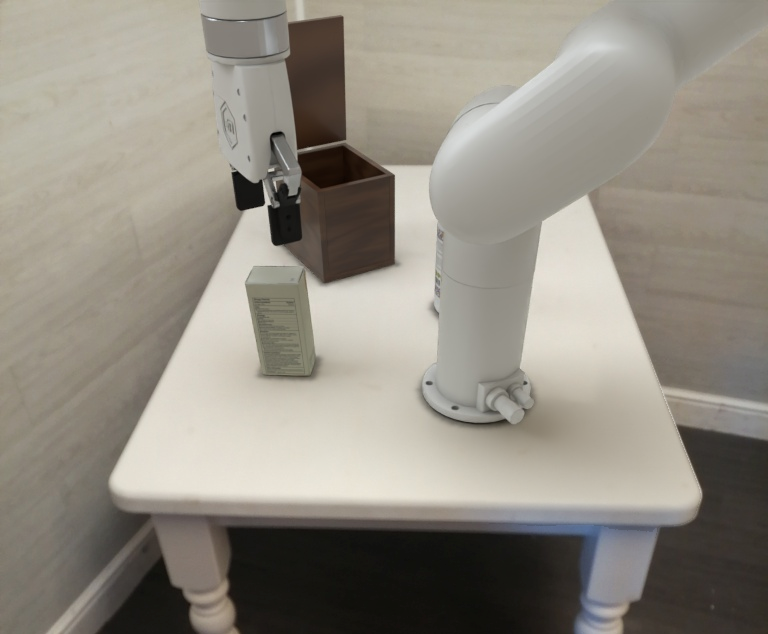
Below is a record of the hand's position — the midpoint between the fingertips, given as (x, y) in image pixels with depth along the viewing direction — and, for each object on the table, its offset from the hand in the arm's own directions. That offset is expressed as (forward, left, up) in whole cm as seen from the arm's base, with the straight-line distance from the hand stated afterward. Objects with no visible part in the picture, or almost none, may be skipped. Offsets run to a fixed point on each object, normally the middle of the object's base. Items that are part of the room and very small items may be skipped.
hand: (268, 224), depth 77 cm
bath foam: (+1, -26, -18) cm, 32 cm away
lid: (+30, -19, +3) cm, 36 cm away
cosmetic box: (0, 0, -18) cm, 18 cm away
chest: (+24, -19, -18) cm, 35 cm away
